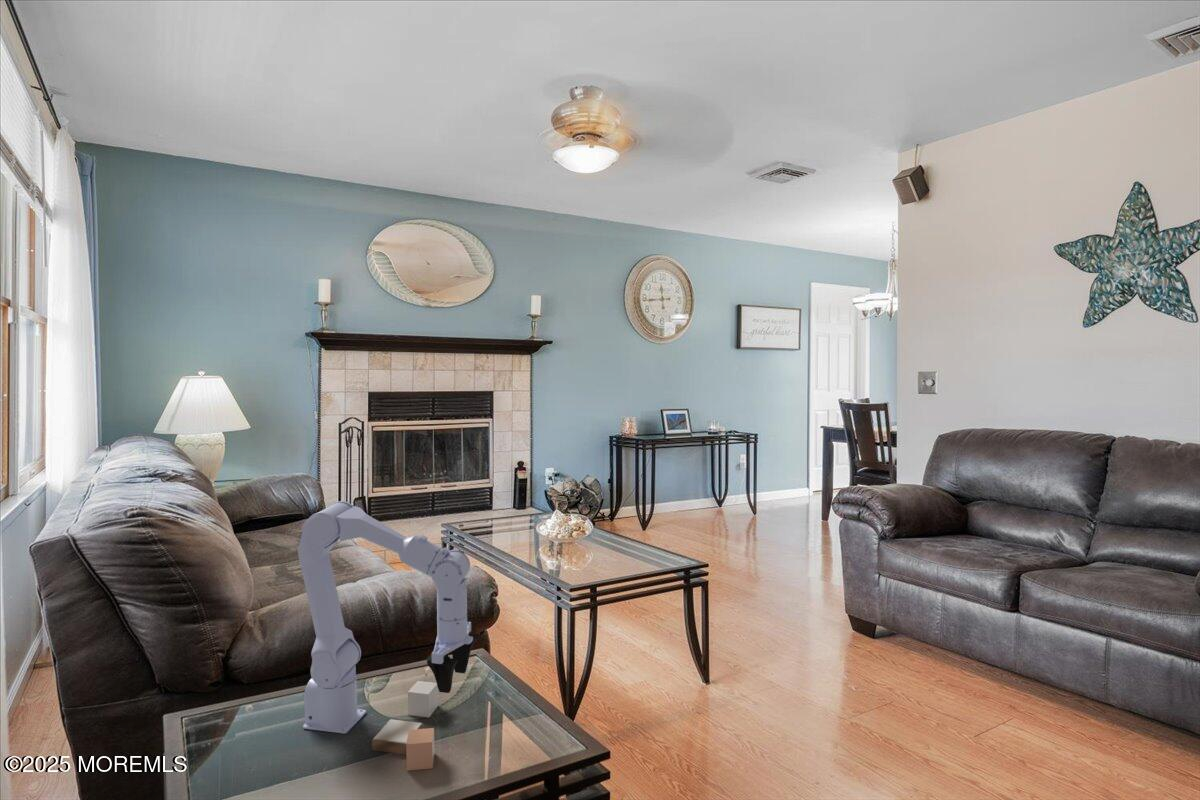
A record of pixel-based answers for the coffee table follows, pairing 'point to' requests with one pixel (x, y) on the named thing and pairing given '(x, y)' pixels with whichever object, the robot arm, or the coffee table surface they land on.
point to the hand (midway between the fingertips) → (452, 681)
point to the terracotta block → (420, 749)
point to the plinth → (394, 736)
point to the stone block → (422, 699)
